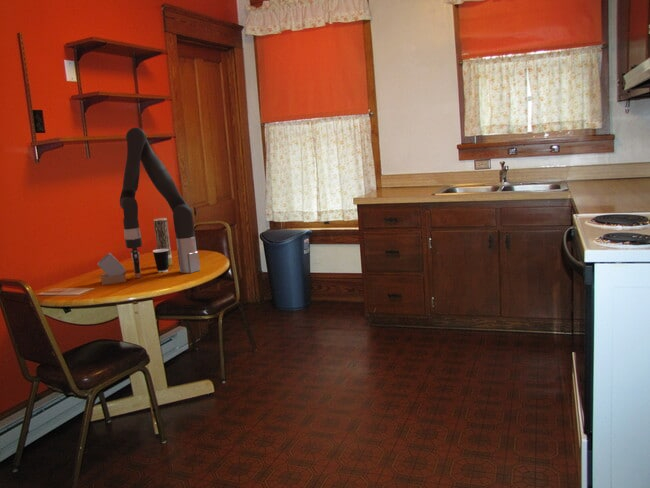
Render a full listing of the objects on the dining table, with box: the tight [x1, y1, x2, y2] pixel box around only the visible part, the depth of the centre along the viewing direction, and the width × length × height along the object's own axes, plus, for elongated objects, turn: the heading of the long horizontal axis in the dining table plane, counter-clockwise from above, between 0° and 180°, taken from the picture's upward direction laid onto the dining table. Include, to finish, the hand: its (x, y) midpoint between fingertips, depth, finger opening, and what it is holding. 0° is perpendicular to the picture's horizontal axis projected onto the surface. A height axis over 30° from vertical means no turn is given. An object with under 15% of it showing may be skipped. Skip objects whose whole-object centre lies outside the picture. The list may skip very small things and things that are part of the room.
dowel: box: [132, 261, 142, 279], centre depth 301 cm, size 3×3×12 cm
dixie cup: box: [152, 248, 169, 274], centre depth 312 cm, size 8×8×11 cm
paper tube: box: [153, 217, 173, 267], centre depth 326 cm, size 7×7×25 cm
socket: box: [97, 252, 127, 286], centre depth 296 cm, size 12×9×14 cm
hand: (137, 272), depth 301 cm, fingers closed on dowel, 3 cm apart
